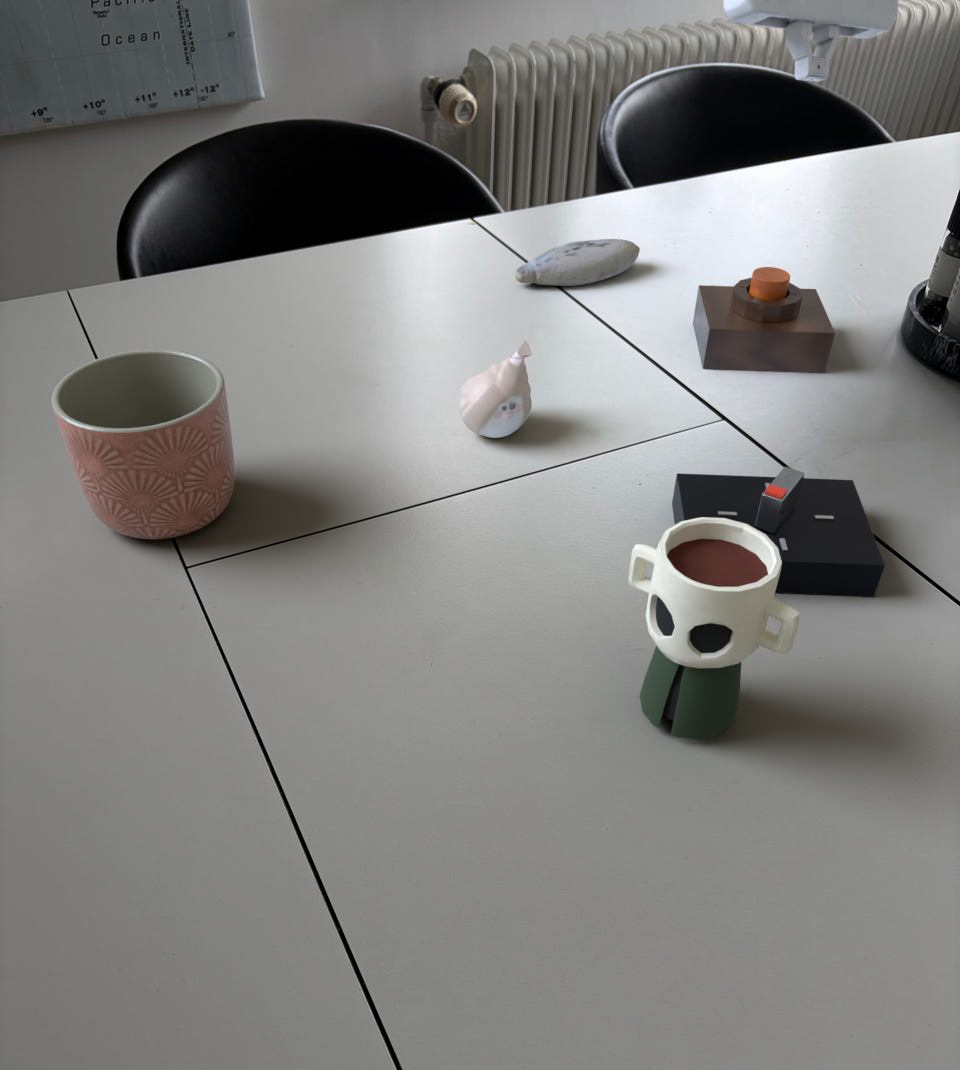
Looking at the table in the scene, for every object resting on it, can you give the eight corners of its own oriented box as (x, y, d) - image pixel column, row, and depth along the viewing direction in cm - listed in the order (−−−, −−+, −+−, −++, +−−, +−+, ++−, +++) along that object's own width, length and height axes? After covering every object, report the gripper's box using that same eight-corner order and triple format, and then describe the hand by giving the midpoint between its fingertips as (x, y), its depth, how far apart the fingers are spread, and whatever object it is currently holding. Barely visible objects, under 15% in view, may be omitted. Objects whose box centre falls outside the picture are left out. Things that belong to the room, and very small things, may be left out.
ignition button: (782, 287, 104) (787, 267, 102) (788, 303, 101) (793, 282, 100) (746, 286, 104) (750, 266, 102) (751, 301, 101) (755, 281, 100)
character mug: (587, 704, 68) (605, 546, 60) (642, 646, 73) (666, 491, 64) (737, 782, 64) (781, 623, 55) (786, 715, 68) (834, 557, 59)
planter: (276, 498, 85) (258, 377, 78) (163, 576, 78) (131, 450, 70) (170, 451, 90) (144, 333, 83) (54, 519, 83) (14, 396, 75)
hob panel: (843, 510, 85) (853, 478, 83) (874, 597, 77) (886, 563, 75) (671, 504, 85) (677, 471, 83) (684, 589, 77) (690, 555, 75)
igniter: (806, 327, 110) (820, 271, 106) (825, 373, 102) (840, 315, 98) (692, 323, 110) (701, 267, 106) (702, 368, 103) (712, 311, 99)
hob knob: (776, 498, 81) (785, 463, 79) (796, 505, 80) (805, 469, 78) (754, 527, 78) (762, 491, 76) (774, 534, 77) (783, 498, 75)
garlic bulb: (532, 450, 91) (536, 366, 86) (459, 449, 91) (459, 366, 86) (528, 411, 96) (532, 330, 91) (459, 411, 96) (459, 329, 91)
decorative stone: (504, 278, 118) (505, 248, 116) (621, 255, 123) (623, 226, 121) (529, 299, 114) (531, 269, 112) (649, 275, 119) (652, 245, 117)
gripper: (756, -113, 91) (757, 62, 94) (912, -80, 100) (907, 77, 104) (707, -84, 96) (709, 81, 100) (859, -55, 106) (857, 94, 109)
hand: (811, 79), depth 102 cm, fingers closed
